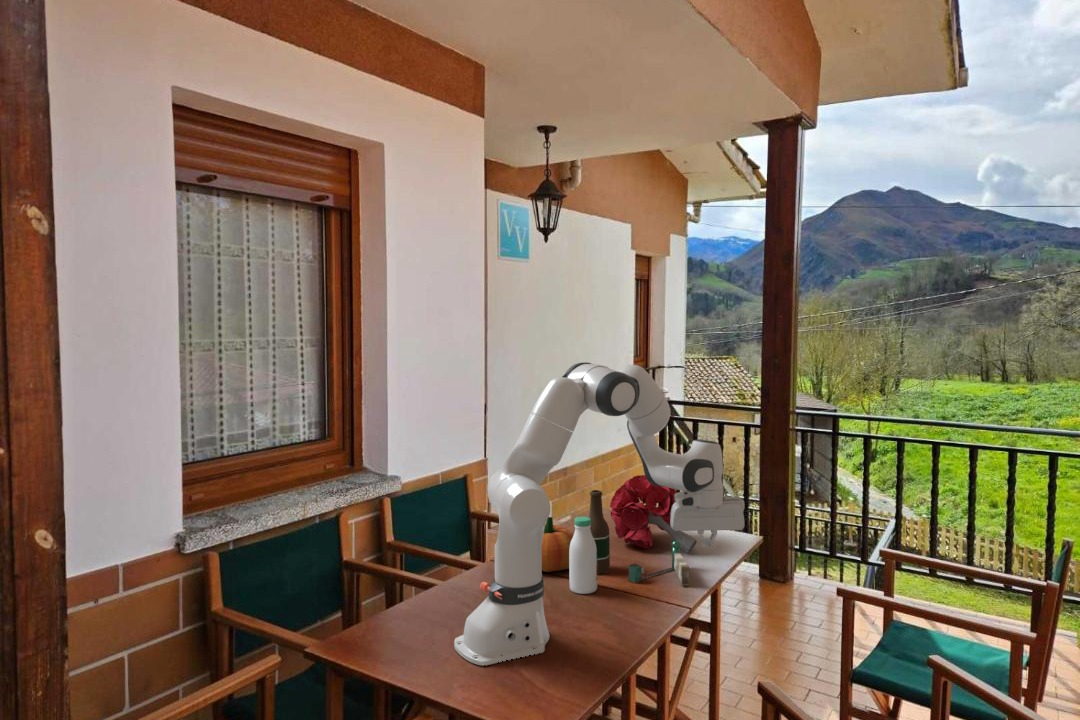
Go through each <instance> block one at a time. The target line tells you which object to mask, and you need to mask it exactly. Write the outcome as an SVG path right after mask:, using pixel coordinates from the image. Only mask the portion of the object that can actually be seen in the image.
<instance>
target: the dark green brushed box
mask: <svg viewBox="0 0 1080 720" xmlns="http://www.w3.org/2000/svg"><path fill="white" fill-rule="evenodd" d="M644 573H645V567H644V566H641V565H639V564H638V563H632V564H629V565H628V581H629V580H630V581H629V582H631V581H632V582H631V583H633V582H634V583H633V584H637V583H640V582H642V580H641V577H642V574H644ZM639 581H640V582H639ZM636 582H637V583H636Z"/></svg>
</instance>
